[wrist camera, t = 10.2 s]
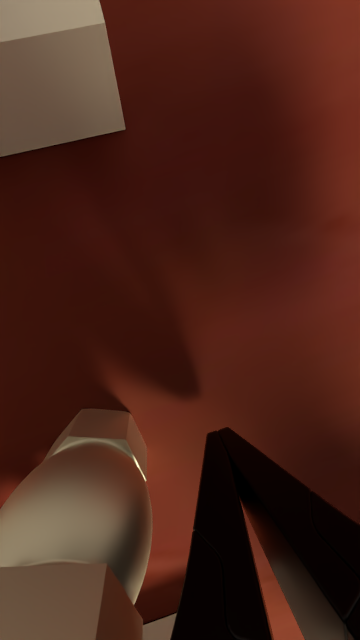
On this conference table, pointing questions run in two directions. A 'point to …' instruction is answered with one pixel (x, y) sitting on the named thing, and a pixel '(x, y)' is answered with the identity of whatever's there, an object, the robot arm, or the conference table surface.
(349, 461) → the conference table surface
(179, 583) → the conference table surface
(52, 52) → the frame
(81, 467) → the valve
